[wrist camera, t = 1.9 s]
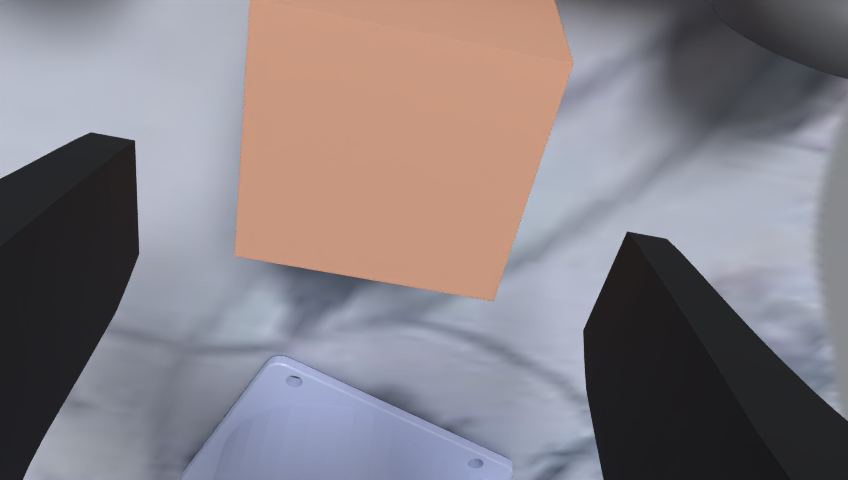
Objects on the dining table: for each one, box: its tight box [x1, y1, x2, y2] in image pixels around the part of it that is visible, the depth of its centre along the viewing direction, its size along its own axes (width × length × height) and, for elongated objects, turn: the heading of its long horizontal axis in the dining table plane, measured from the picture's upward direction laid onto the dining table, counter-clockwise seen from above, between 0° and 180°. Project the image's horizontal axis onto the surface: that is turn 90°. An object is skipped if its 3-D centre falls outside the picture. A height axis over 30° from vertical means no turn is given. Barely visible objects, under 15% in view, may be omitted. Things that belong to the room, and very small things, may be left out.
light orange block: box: [234, 0, 573, 301], centre depth 16 cm, size 5×5×6 cm
